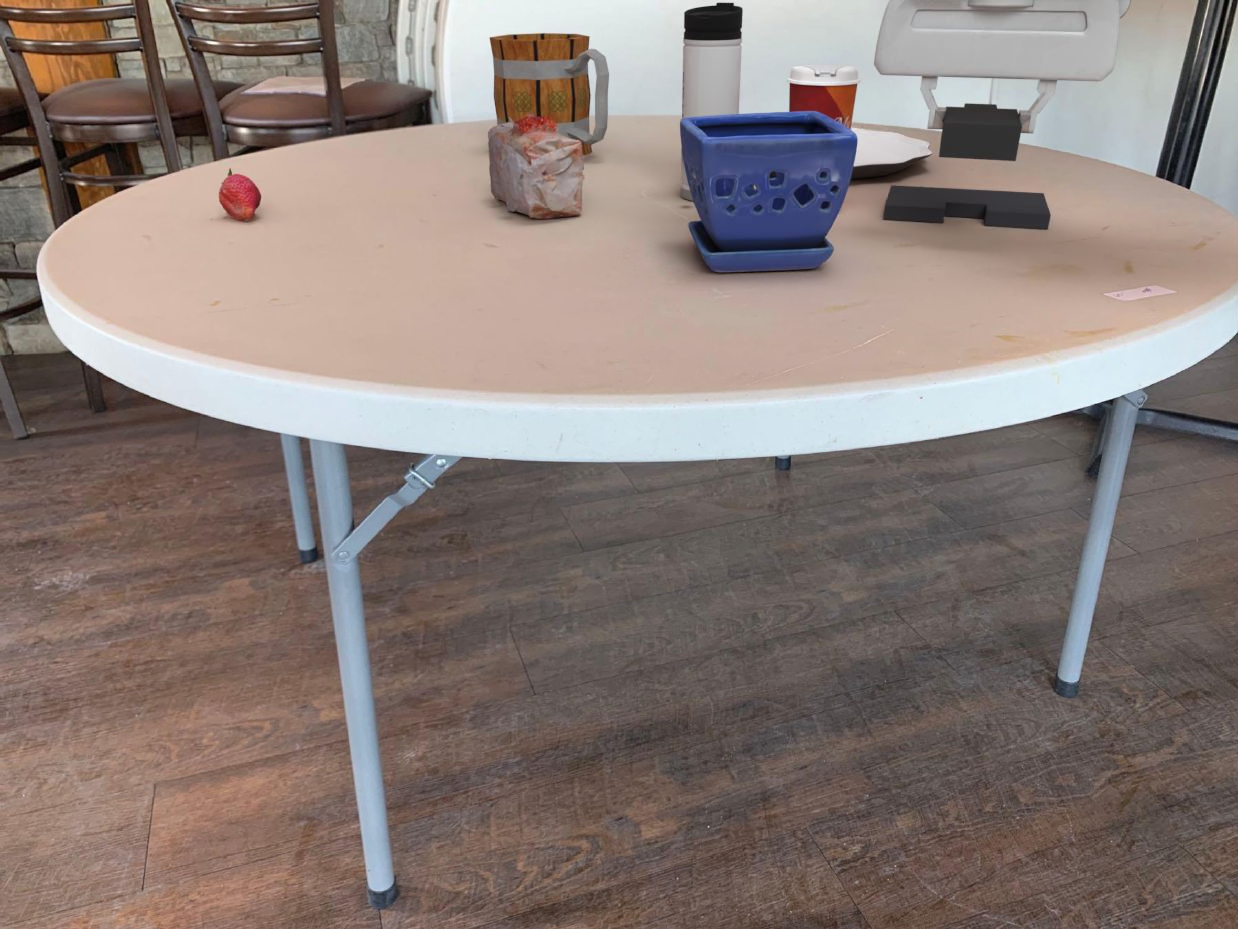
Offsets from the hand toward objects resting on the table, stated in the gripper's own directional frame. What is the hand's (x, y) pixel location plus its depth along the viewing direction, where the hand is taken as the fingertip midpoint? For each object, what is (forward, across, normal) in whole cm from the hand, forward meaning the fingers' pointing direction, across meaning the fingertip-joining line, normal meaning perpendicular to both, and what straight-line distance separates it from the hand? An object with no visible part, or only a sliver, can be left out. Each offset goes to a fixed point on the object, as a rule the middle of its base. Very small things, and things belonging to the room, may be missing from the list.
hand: (978, 130), depth 89 cm
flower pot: (+10, +18, +13) cm, 24 cm away
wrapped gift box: (+10, +45, 0) cm, 46 cm away
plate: (+10, +19, -34) cm, 41 cm away
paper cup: (+10, +16, -11) cm, 22 cm away
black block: (+2, 0, -1) cm, 2 cm away
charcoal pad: (+10, 0, -10) cm, 14 cm away
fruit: (+11, +74, +12) cm, 75 cm away
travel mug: (+10, +28, -11) cm, 32 cm away
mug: (+11, +54, -31) cm, 63 cm away
